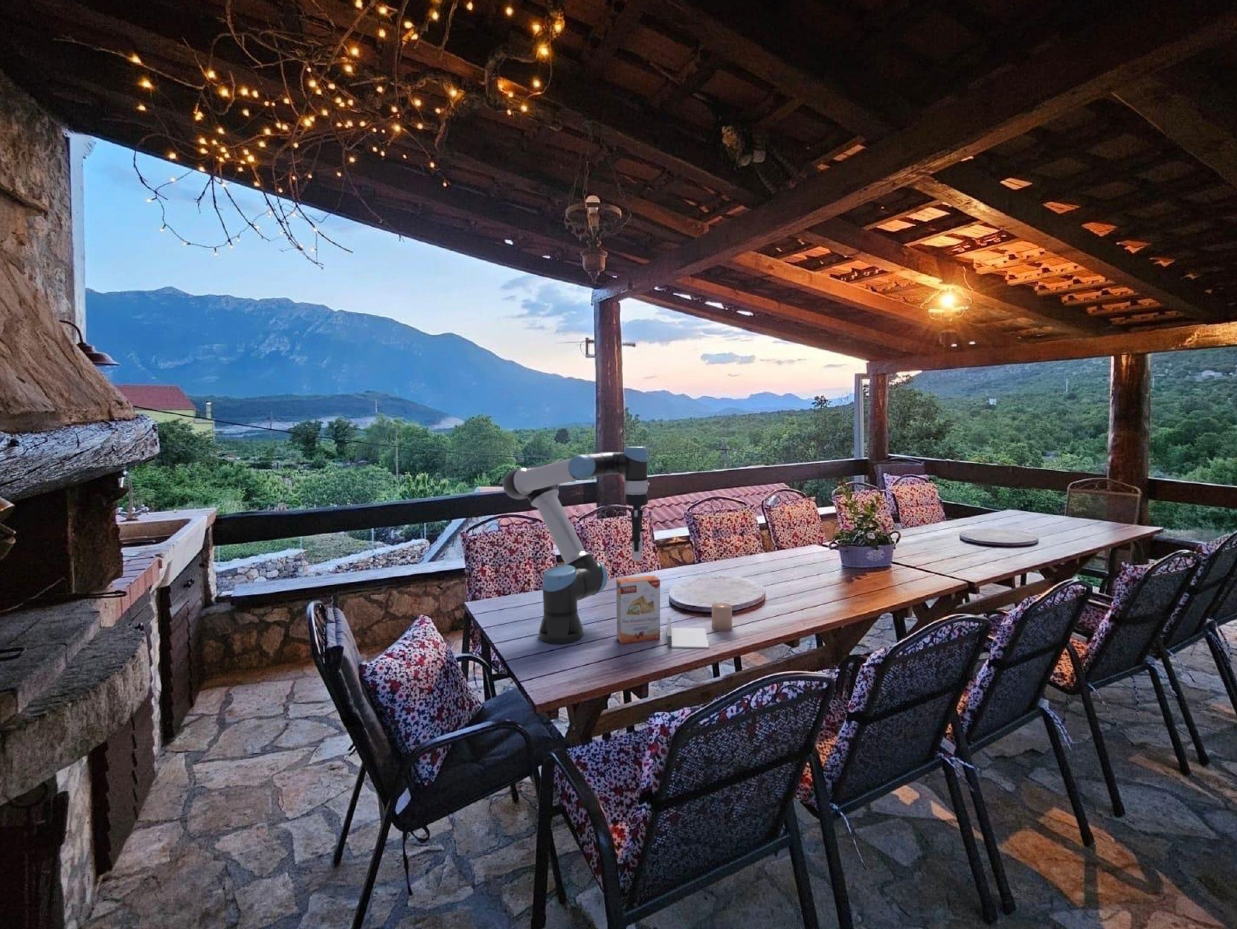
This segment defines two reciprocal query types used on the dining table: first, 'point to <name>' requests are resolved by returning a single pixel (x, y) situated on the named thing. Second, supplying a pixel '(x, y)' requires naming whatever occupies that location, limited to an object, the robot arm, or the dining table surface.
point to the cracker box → (638, 609)
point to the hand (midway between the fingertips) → (637, 556)
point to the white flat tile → (686, 637)
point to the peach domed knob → (721, 617)
